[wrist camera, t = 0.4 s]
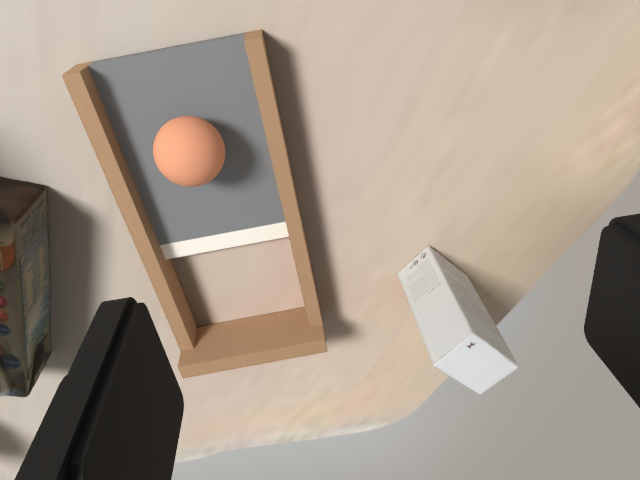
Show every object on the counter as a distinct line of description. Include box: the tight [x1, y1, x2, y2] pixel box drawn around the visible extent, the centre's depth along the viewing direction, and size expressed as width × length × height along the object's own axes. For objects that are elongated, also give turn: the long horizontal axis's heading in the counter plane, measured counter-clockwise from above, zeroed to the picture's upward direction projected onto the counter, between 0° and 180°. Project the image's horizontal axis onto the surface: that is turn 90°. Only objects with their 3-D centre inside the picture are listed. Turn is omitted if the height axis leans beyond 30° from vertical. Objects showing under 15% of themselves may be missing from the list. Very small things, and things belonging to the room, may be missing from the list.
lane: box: [62, 30, 327, 378], centre depth 40 cm, size 27×13×5 cm, turn 9°
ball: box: [153, 116, 225, 187], centre depth 36 cm, size 5×5×5 cm
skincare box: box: [398, 246, 518, 395], centre depth 43 cm, size 6×4×12 cm
